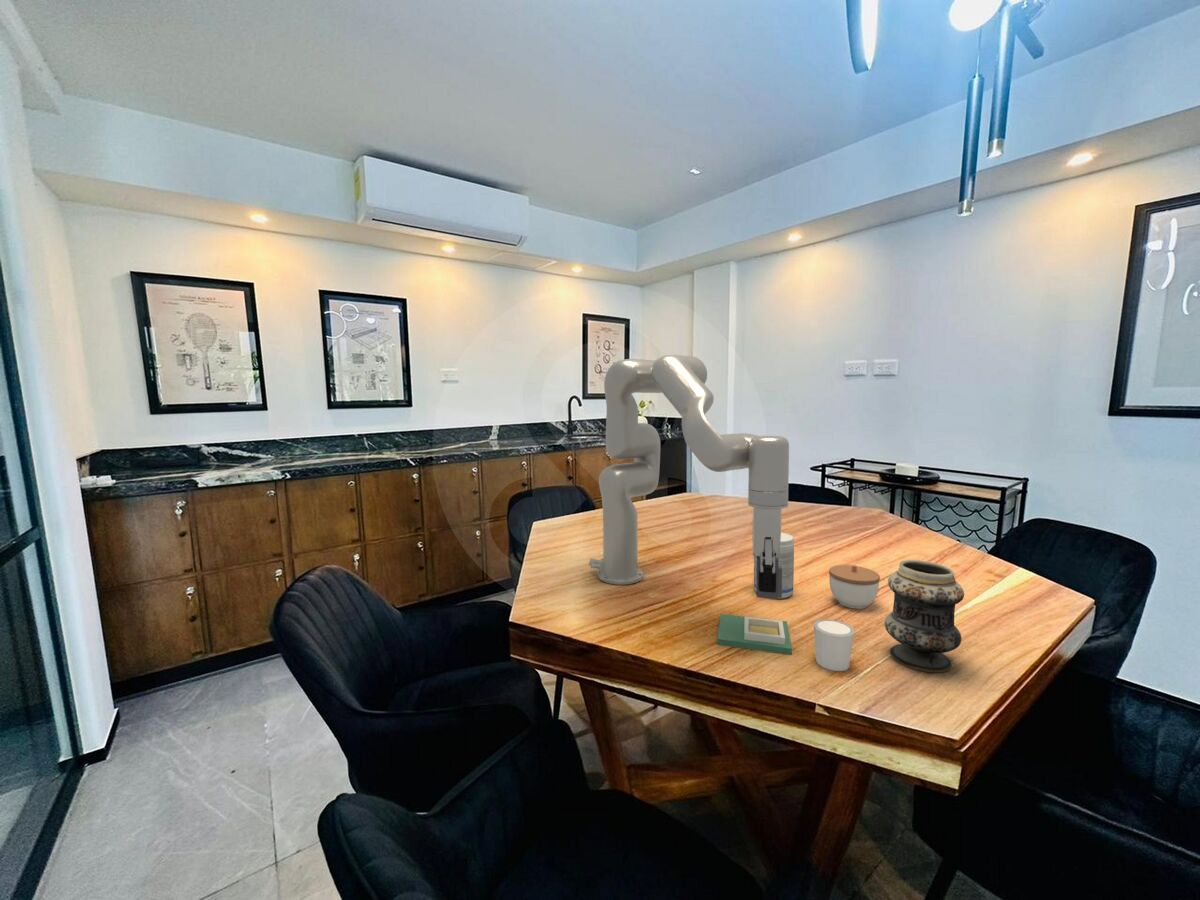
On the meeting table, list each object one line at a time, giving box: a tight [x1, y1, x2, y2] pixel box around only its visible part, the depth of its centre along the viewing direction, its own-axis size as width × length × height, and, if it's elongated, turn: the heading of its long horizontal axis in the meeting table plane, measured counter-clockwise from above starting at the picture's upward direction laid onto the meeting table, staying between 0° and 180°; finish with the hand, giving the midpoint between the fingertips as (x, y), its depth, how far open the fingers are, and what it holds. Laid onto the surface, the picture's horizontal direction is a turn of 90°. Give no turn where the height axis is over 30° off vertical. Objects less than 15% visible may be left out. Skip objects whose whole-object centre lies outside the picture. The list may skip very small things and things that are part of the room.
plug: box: [755, 553, 783, 600], centre depth 98 cm, size 5×4×8 cm
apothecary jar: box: [883, 559, 965, 674], centre depth 91 cm, size 12×12×18 cm
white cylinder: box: [813, 618, 855, 672], centre depth 90 cm, size 7×7×7 cm
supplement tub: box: [753, 532, 795, 600], centre depth 123 cm, size 10×10×15 cm
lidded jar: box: [828, 564, 881, 610], centre depth 116 cm, size 11×11×9 cm
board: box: [716, 613, 793, 655], centre depth 101 cm, size 14×12×3 cm
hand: (766, 586), depth 98 cm, fingers closed on plug, 4 cm apart
